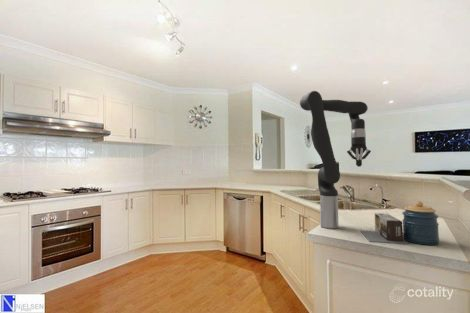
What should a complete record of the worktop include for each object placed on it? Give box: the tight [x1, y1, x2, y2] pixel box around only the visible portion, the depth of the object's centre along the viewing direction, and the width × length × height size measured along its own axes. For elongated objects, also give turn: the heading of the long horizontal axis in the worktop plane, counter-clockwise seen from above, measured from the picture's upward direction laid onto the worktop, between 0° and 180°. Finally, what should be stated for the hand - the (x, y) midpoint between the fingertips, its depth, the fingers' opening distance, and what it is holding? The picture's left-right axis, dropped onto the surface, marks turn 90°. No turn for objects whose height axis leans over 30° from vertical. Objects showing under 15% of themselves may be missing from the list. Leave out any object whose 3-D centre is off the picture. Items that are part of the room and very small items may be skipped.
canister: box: [401, 201, 440, 246], centre depth 108 cm, size 13×13×18 cm
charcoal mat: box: [360, 229, 409, 245], centre depth 113 cm, size 15×17×1 cm
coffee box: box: [374, 212, 404, 241], centre depth 114 cm, size 9×6×16 cm
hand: (359, 166), depth 140 cm, fingers closed
